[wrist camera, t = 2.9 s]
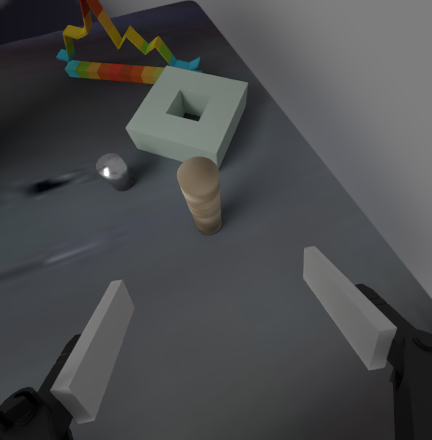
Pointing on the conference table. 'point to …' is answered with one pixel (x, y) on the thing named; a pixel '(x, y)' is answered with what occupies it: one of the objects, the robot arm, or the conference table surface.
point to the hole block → (192, 104)
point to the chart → (118, 70)
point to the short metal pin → (115, 172)
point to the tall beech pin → (202, 192)
